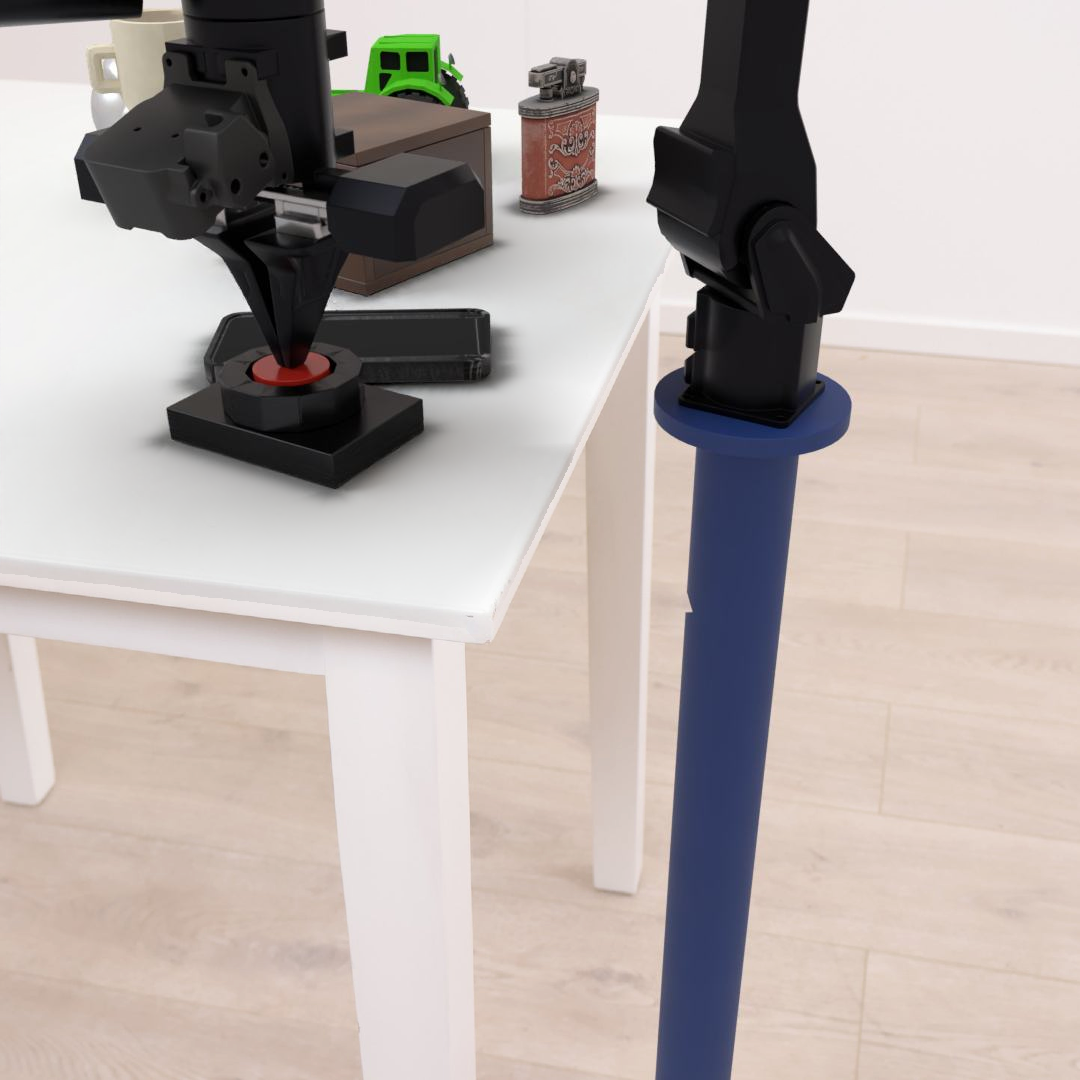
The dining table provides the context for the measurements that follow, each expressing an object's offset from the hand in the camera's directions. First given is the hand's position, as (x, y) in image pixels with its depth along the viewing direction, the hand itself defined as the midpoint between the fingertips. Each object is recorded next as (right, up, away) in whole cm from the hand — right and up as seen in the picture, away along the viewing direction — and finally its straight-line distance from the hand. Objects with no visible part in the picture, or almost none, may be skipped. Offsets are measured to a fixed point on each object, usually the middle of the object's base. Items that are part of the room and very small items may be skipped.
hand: (292, 365), depth 61 cm
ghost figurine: (-19, +22, +45) cm, 54 cm away
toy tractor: (-1, +22, +44) cm, 50 cm away
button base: (0, -3, +2) cm, 4 cm away
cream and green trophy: (-15, +17, +36) cm, 43 cm away
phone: (+1, +2, +10) cm, 10 cm away
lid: (0, +18, +22) cm, 28 cm away
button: (0, -1, +1) cm, 2 cm away
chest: (0, +11, +26) cm, 28 cm away
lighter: (+13, +17, +36) cm, 42 cm away
